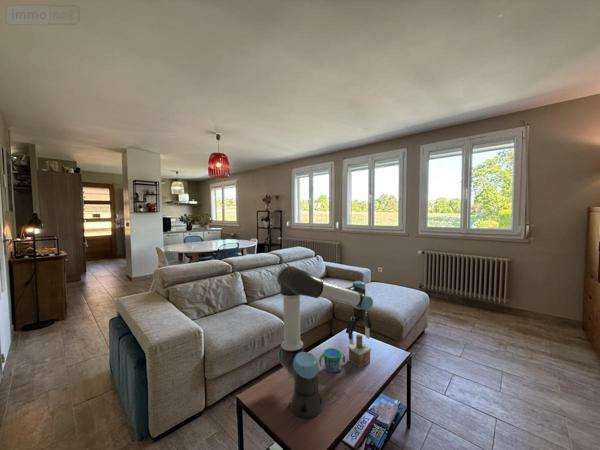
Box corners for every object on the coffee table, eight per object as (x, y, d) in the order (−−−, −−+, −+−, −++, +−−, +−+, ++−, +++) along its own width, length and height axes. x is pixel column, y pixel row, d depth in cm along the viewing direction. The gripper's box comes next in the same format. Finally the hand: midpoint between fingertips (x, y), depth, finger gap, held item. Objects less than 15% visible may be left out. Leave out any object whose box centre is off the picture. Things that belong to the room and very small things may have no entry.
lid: (359, 355, 148) (359, 341, 148) (347, 347, 157) (347, 334, 156) (371, 350, 154) (371, 337, 153) (359, 343, 162) (359, 330, 162)
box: (359, 367, 149) (359, 354, 149) (348, 360, 157) (348, 347, 157) (370, 362, 154) (370, 350, 154) (359, 355, 162) (359, 343, 161)
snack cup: (342, 363, 154) (342, 346, 154) (347, 373, 144) (347, 356, 143) (317, 365, 152) (317, 349, 152) (321, 376, 142) (321, 359, 141)
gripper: (348, 313, 144) (348, 349, 145) (378, 304, 157) (378, 337, 158) (339, 309, 150) (340, 343, 152) (368, 300, 164) (369, 332, 165)
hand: (359, 340), depth 155 cm, fingers open, 13 cm apart
